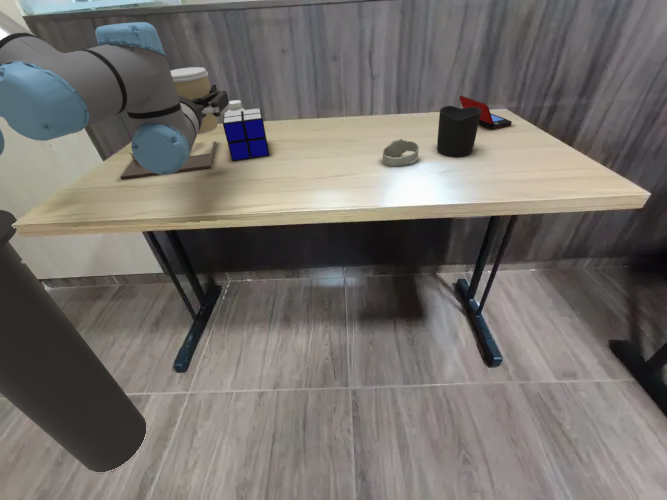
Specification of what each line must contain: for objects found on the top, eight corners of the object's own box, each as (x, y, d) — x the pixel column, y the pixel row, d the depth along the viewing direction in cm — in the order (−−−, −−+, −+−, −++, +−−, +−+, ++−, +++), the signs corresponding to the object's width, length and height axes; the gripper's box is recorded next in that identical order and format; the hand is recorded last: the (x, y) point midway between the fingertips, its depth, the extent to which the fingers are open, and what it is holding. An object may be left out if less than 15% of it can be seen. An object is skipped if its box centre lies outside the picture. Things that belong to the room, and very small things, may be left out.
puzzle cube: (231, 161, 93) (222, 123, 87) (231, 148, 101) (223, 112, 95) (269, 155, 94) (262, 118, 88) (266, 143, 102) (260, 107, 96)
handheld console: (513, 125, 101) (519, 98, 97) (481, 132, 99) (486, 104, 94) (484, 114, 111) (489, 89, 106) (454, 120, 108) (458, 94, 104)
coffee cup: (194, 121, 85) (178, 67, 78) (228, 122, 83) (215, 66, 76) (170, 135, 78) (150, 76, 71) (207, 136, 76) (189, 76, 69)
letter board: (121, 179, 88) (116, 169, 86) (140, 153, 102) (136, 143, 101) (210, 168, 90) (207, 157, 89) (216, 143, 105) (214, 134, 103)
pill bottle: (249, 136, 108) (242, 103, 102) (231, 138, 108) (223, 105, 102) (250, 130, 112) (243, 98, 107) (233, 132, 112) (225, 100, 106)
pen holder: (455, 141, 95) (461, 102, 89) (482, 152, 88) (490, 111, 82) (427, 149, 91) (431, 109, 85) (453, 161, 85) (459, 119, 79)
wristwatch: (411, 153, 90) (413, 134, 87) (423, 163, 85) (425, 142, 82) (378, 159, 88) (378, 140, 85) (388, 169, 83) (388, 149, 80)
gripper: (124, 150, 64) (153, 114, 82) (241, 136, 66) (245, 104, 84) (105, 107, 60) (141, 79, 78) (232, 94, 62) (238, 70, 80)
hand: (195, 93), depth 81 cm, fingers closed on coffee cup, 8 cm apart
